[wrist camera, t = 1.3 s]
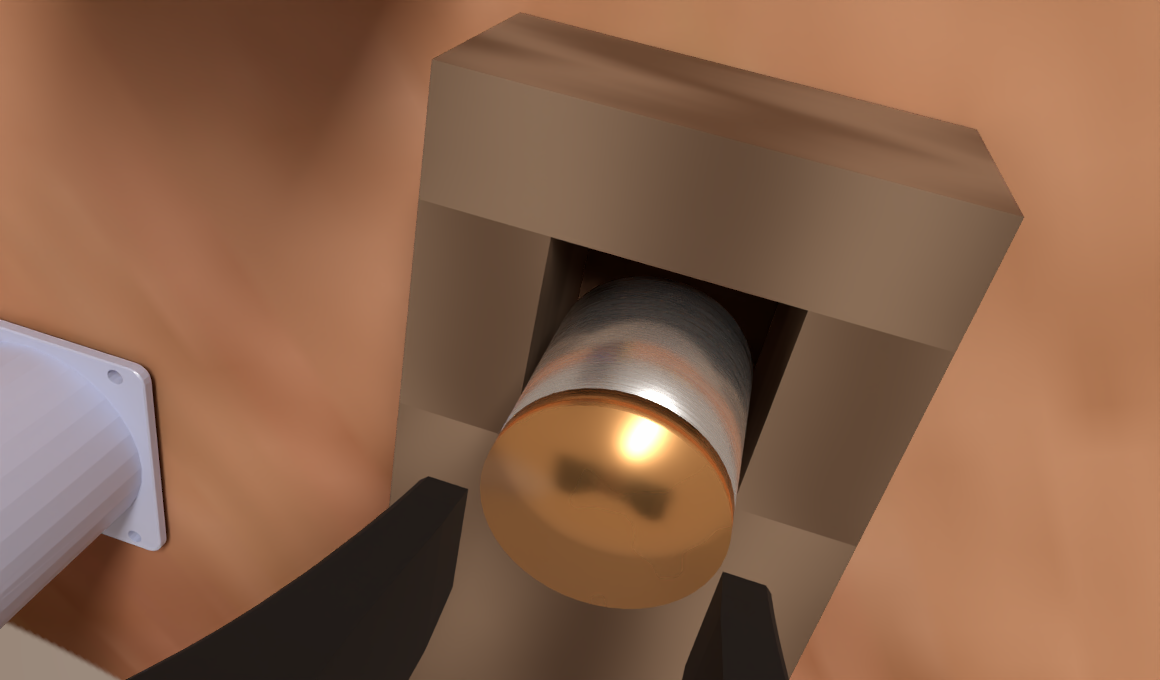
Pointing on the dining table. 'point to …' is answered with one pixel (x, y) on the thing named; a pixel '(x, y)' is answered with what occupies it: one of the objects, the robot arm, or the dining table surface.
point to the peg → (625, 447)
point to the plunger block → (696, 249)
